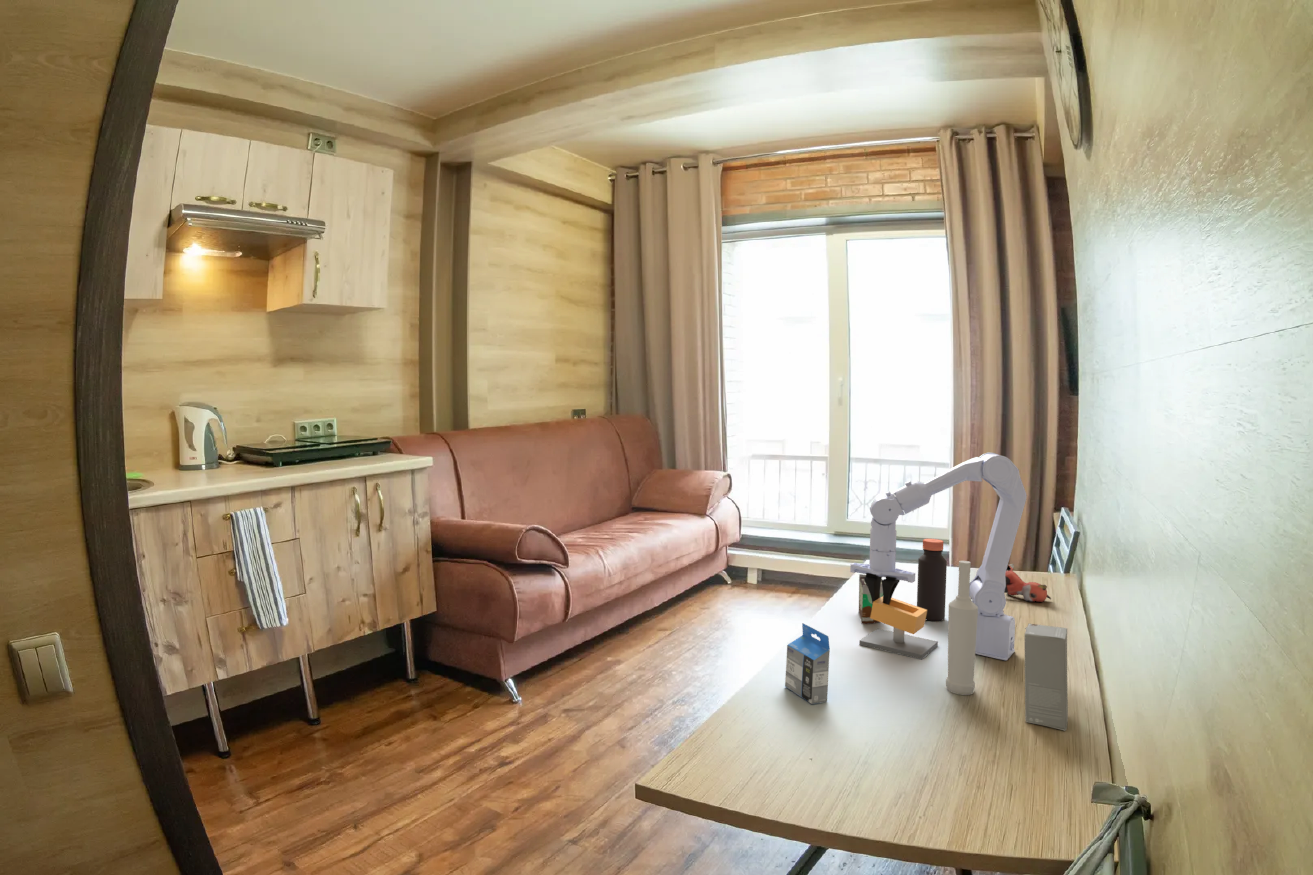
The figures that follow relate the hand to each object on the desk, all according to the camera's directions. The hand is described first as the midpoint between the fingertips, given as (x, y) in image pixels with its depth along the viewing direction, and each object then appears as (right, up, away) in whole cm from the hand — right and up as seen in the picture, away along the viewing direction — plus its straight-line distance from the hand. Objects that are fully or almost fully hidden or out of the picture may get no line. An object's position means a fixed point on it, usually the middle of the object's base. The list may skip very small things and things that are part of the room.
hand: (880, 607), depth 163 cm
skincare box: (+17, -10, -38) cm, 43 cm away
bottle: (+7, -10, -27) cm, 29 cm away
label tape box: (-23, -10, -29) cm, 39 cm away
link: (+3, -3, -2) cm, 5 cm away
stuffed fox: (+53, -7, +37) cm, 65 cm away
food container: (+3, -7, +17) cm, 19 cm away
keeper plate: (+3, -8, -2) cm, 9 cm away
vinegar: (+19, -7, +19) cm, 27 cm away
